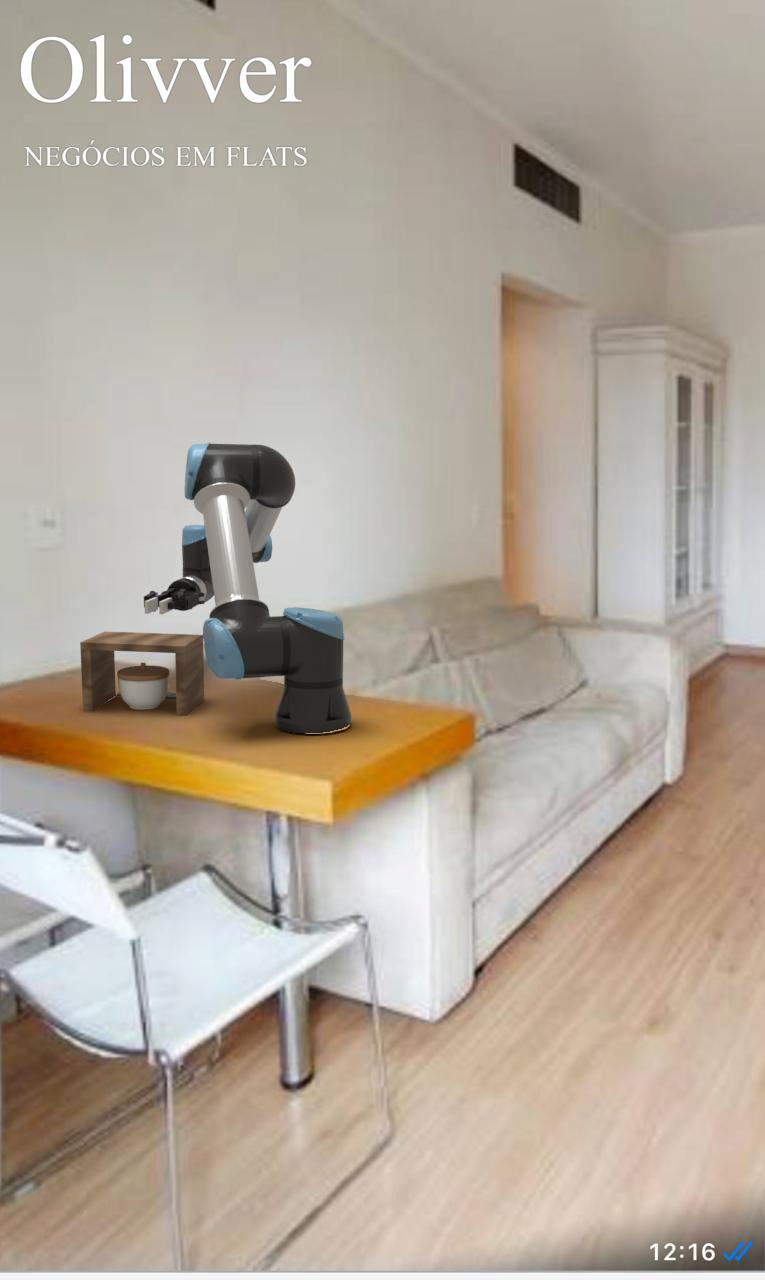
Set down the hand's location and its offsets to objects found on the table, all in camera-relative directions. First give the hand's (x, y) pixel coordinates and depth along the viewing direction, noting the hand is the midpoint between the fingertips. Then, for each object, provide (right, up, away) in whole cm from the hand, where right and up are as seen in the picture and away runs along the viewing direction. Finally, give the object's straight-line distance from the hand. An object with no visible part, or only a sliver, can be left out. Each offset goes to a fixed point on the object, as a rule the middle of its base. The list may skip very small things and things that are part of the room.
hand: (153, 607), depth 208 cm
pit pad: (0, -19, +5) cm, 20 cm away
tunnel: (-1, -21, -3) cm, 21 cm away
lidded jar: (-1, -21, -4) cm, 22 cm away
